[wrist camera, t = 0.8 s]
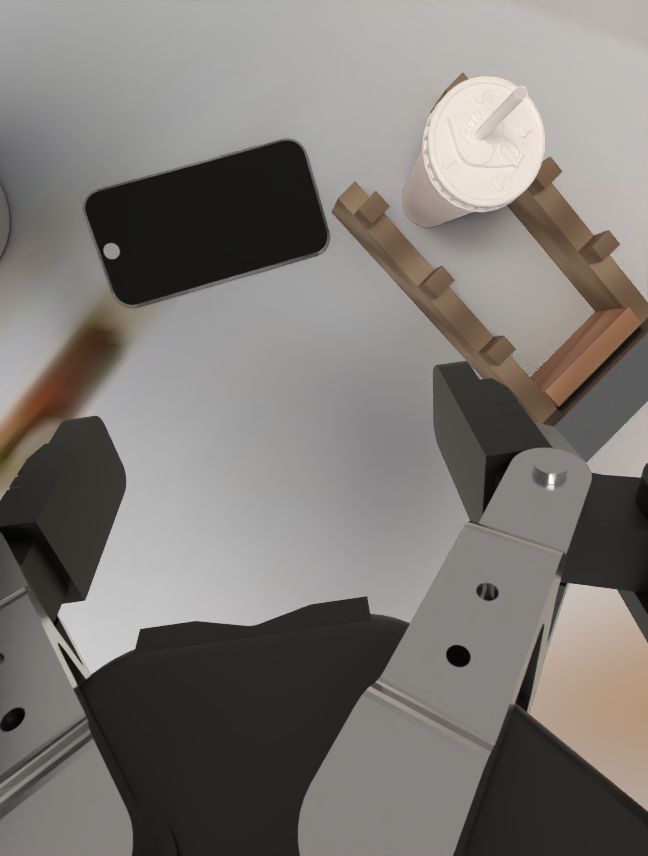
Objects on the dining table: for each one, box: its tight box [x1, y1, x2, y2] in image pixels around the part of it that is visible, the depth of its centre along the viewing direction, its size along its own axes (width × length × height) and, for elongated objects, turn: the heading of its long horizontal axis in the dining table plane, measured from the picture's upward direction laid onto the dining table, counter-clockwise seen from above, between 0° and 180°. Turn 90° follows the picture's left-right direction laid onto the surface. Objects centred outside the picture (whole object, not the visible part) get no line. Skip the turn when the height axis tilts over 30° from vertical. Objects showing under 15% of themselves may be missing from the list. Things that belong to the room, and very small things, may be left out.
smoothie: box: [402, 76, 545, 227], centre depth 29 cm, size 6×6×14 cm
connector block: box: [534, 318, 648, 462], centre depth 37 cm, size 4×11×4 cm, turn 135°
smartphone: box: [83, 139, 329, 308], centre depth 34 cm, size 8×1×15 cm
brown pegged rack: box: [332, 73, 648, 424], centre depth 35 cm, size 22×11×4 cm, turn 45°
